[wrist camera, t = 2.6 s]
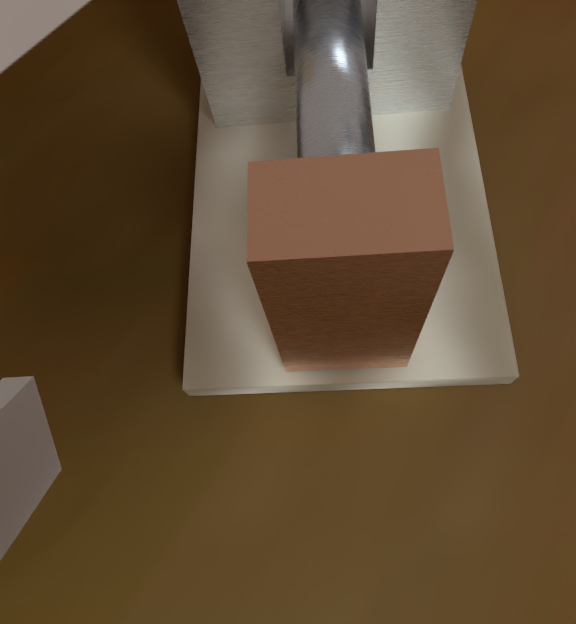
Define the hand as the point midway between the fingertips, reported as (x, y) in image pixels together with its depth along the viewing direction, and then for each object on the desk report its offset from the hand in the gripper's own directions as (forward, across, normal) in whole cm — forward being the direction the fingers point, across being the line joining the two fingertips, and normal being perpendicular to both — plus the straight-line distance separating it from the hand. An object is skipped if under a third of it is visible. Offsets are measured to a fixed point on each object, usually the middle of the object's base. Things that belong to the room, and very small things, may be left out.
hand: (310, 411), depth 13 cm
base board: (+18, +1, +3) cm, 18 cm away
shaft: (+15, +1, +2) cm, 15 cm away
